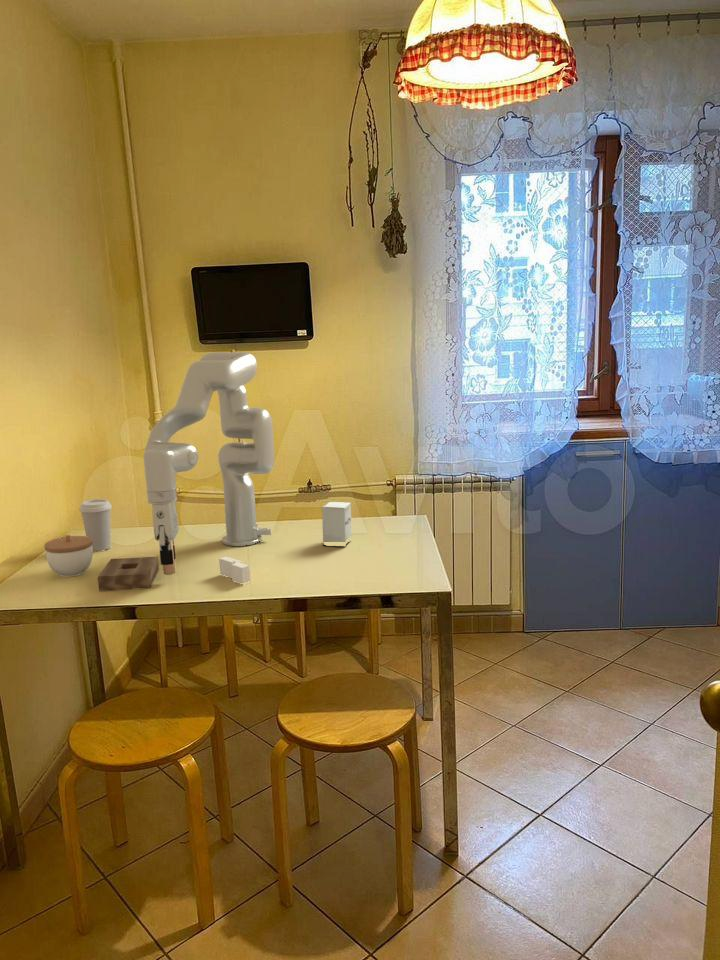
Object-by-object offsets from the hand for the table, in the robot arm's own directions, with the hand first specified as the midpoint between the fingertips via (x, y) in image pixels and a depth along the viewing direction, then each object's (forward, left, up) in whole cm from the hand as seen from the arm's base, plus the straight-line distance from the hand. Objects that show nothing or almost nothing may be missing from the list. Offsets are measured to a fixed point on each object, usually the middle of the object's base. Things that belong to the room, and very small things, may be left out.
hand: (168, 561), depth 201 cm
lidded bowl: (+29, -12, -6) cm, 32 cm away
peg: (0, 0, -3) cm, 3 cm away
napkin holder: (-17, 0, -7) cm, 18 cm away
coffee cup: (+27, -35, -6) cm, 45 cm away
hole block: (+11, -3, -6) cm, 13 cm away
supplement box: (-47, -28, -6) cm, 55 cm away
